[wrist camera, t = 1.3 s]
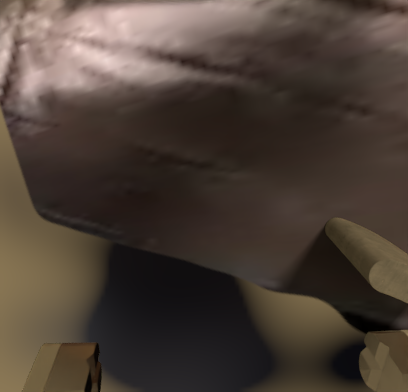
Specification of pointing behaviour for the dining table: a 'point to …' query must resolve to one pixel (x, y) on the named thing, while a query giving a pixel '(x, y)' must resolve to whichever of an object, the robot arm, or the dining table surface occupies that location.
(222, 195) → the dining table surface
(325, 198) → the dining table surface
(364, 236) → the hip flask
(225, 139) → the dining table surface
